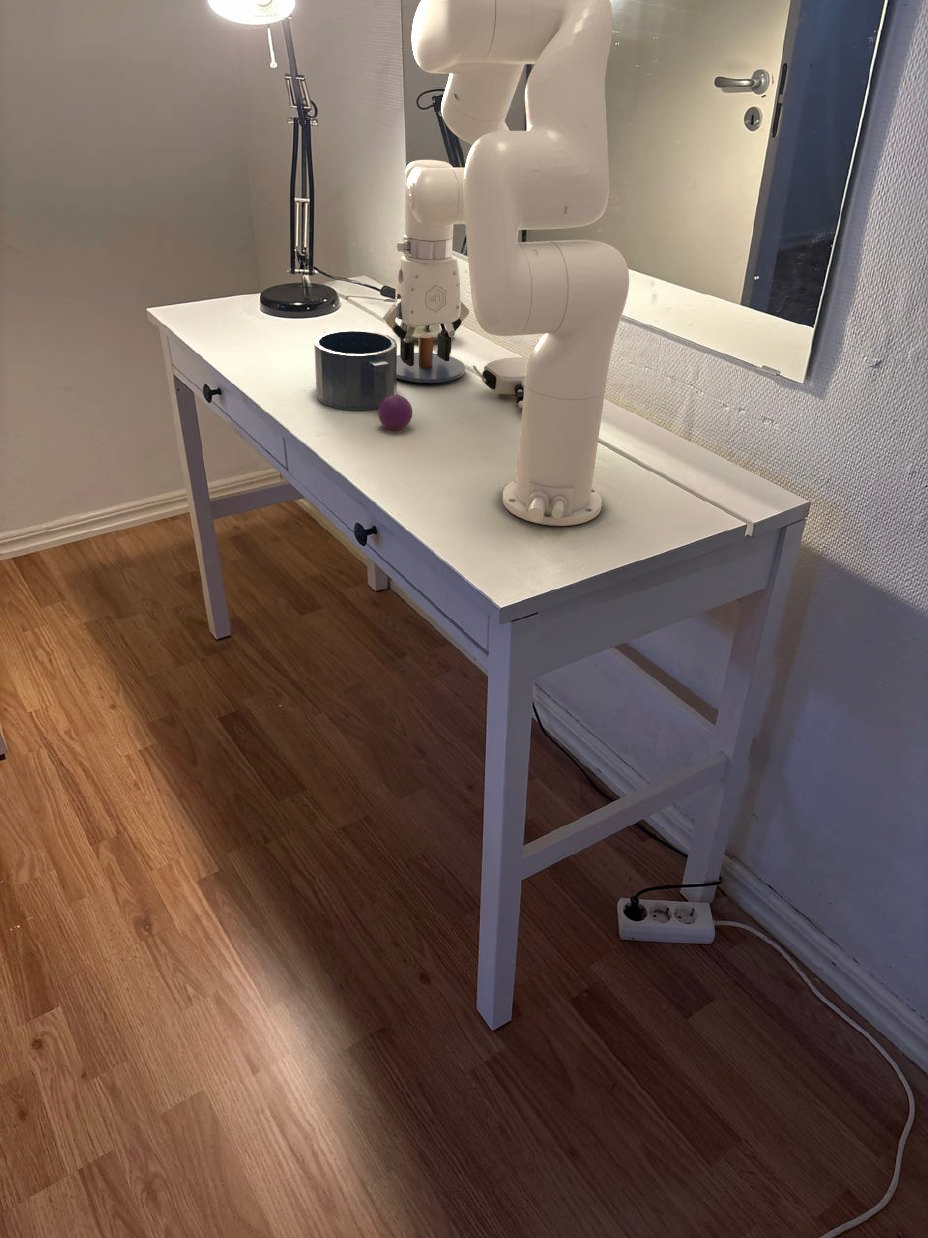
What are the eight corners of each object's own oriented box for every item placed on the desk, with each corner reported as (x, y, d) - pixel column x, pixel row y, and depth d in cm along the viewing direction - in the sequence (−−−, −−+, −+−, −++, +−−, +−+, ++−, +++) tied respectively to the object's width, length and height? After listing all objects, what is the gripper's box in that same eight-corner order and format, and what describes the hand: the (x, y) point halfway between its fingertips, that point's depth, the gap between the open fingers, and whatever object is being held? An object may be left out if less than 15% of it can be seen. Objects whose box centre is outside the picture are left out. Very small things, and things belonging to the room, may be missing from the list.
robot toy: (582, 413, 146) (531, 376, 156) (587, 386, 143) (534, 350, 153) (517, 425, 140) (468, 386, 150) (521, 397, 138) (470, 359, 148)
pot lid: (409, 391, 148) (409, 352, 145) (371, 365, 157) (371, 329, 154) (479, 379, 154) (481, 342, 151) (439, 355, 164) (440, 320, 160)
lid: (458, 340, 176) (459, 313, 174) (449, 342, 166) (450, 313, 165) (404, 337, 177) (405, 310, 175) (392, 339, 168) (393, 310, 166)
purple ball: (407, 437, 133) (408, 403, 130) (374, 433, 133) (373, 399, 131) (415, 424, 137) (416, 391, 134) (382, 420, 138) (382, 387, 135)
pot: (345, 421, 136) (343, 365, 132) (297, 383, 149) (294, 330, 144) (418, 408, 142) (419, 354, 137) (366, 372, 154) (366, 321, 150)
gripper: (389, 257, 138) (388, 374, 148) (487, 249, 146) (481, 361, 156) (368, 246, 144) (369, 360, 154) (464, 239, 151) (459, 348, 161)
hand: (425, 360), depth 155 cm, fingers open, 6 cm apart
